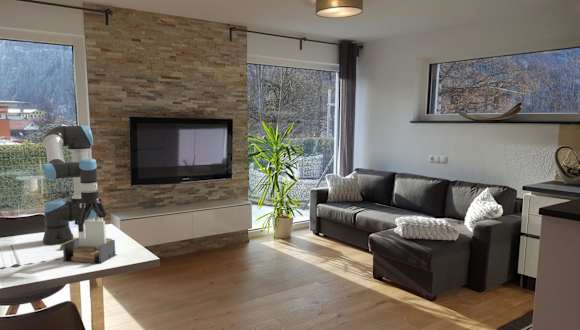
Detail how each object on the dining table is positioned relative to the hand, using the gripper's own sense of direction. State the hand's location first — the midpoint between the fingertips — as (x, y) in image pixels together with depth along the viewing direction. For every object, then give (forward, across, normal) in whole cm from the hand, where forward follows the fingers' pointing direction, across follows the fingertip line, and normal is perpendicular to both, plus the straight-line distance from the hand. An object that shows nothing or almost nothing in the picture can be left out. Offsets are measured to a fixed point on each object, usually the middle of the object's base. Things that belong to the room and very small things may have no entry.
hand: (92, 234), depth 206 cm
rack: (+13, -2, 0) cm, 13 cm away
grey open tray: (+14, +18, +18) cm, 29 cm away
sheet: (+11, 0, 0) cm, 11 cm away
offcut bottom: (+11, -5, 0) cm, 12 cm away
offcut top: (+7, -5, 0) cm, 9 cm away
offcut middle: (+9, -5, 0) cm, 11 cm away
